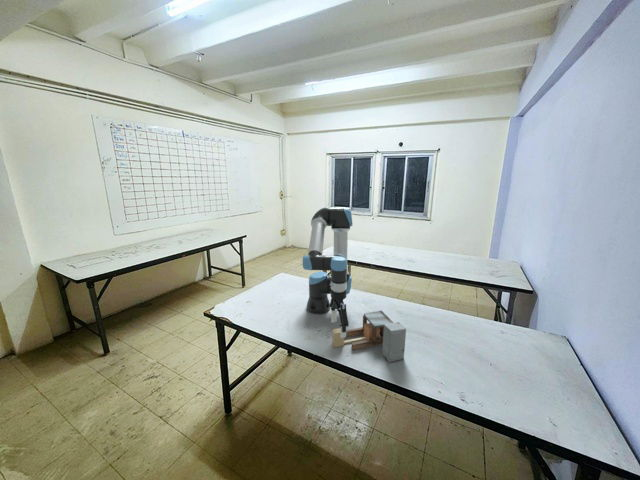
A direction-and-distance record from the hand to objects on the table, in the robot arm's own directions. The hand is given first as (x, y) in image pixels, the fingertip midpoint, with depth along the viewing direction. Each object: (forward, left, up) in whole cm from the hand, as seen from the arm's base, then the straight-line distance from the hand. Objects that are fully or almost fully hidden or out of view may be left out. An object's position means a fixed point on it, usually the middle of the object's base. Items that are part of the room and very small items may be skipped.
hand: (338, 329), depth 124 cm
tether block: (0, +10, -9) cm, 13 cm away
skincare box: (+15, +22, -9) cm, 28 cm away
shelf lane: (0, +16, -9) cm, 18 cm away
